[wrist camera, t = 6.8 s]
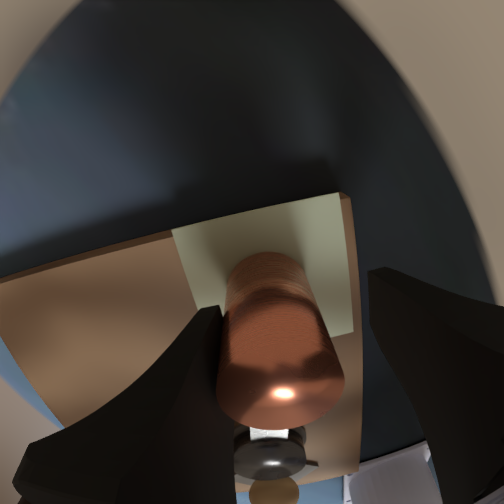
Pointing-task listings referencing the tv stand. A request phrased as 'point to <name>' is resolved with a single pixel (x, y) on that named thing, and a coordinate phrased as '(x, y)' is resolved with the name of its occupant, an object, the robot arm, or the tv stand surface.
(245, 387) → the lever
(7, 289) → the light wood flat board
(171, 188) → the tv stand surface
